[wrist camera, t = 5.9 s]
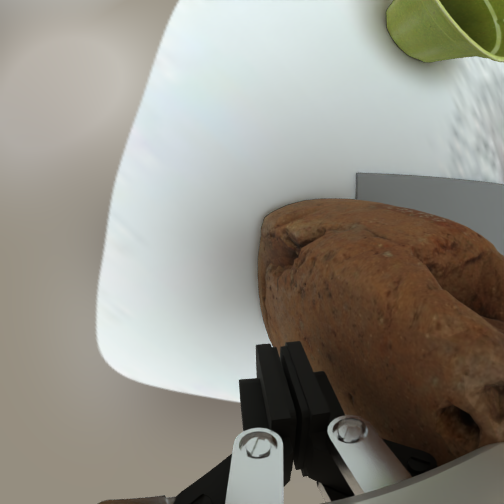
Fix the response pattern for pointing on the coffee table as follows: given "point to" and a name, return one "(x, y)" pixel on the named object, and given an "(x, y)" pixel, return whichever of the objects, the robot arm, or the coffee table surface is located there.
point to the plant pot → (448, 28)
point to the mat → (441, 200)
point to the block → (392, 317)
